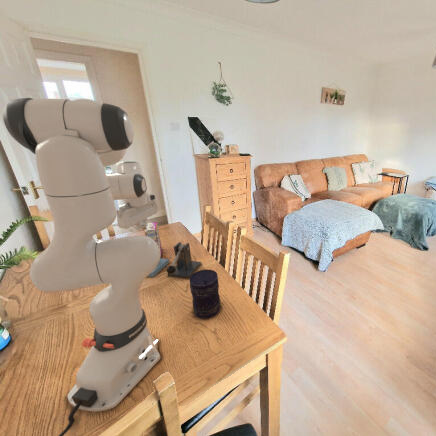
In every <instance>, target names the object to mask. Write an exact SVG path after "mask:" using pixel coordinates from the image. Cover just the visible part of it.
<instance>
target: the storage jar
mask: <svg viewBox="0 0 436 436" xmlns="http://www.w3.org/2000/svg"><path fill="white" fill-rule="evenodd" d="M188 281H189V289H190V293H191V296H192V309H193V314H194V316H195V317H196V318H197V319H203V320H207V319H210V318H211V319H212V318H213V317H215V316H216V315H217V314H219V312H220V310H221V297H220V293H219V288H220V285H219V276H218V273H217V272H216V271H215V270H214V269H201V270H198V271H197V270H196V271H195V272H194V273H193V274H192V275H191V276H190V278H189V280H188Z"/></svg>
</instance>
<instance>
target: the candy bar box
mask: <svg viewBox="0 0 436 436" xmlns="http://www.w3.org/2000/svg"><path fill="white" fill-rule="evenodd" d="M144 232H145V233H144V234H145V236H146V237H150V238H152V239H153V240H154V241H155V242H156V243H157V244H158V246H159V248H160V253H161V254H162V249H163V247H162V243H161V237H160V236H161V235H160V231H159V226H158V221H154V222H147V223H146V228H145V229H144ZM160 258H162V255H161V256H160Z"/></svg>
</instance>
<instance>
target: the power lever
mask: <svg viewBox="0 0 436 436" xmlns="http://www.w3.org/2000/svg"><path fill="white" fill-rule="evenodd" d="M184 245H185V244H183V243H181V244H180V245H179V247H178V250H179V252H178V253H177V255H176V257H175V256H174V257H175V258H174V259H173V261H172V264H171V265H169V266H168V265H167V266H166V270H165V271H166V273H167V274H168V273H169V274H173V273H174V272H175V271H176V268H175V266H176V265H177V261H178V259H179V257H180V255H181V253H182V252H183V251H182V247H183V246H184Z"/></svg>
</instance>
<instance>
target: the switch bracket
mask: <svg viewBox="0 0 436 436" xmlns="http://www.w3.org/2000/svg"><path fill="white" fill-rule="evenodd" d="M180 244H182V242H181V241H178V243H175V245H174V246H173V250H174V251H173V252H174V257H176V255H177V253H178V252H179V250H178V247H179V245H180ZM182 251H183V252H182V253H181V255H180V257H179V259H178V261H177V263H176V265H175V268H176V271H175V272H174V273H173V274H169V273H167V276H168V277H171V278H178V279H179V278H180V279H186V280H188V279H190V277H191V275H192V274H194V273H195V272H197V270H198V269H199V268H200V267H201V265H202V261H198V260H192V253H191V246H190V242H186V243H185V244H184V246H183V247H182Z"/></svg>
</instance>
